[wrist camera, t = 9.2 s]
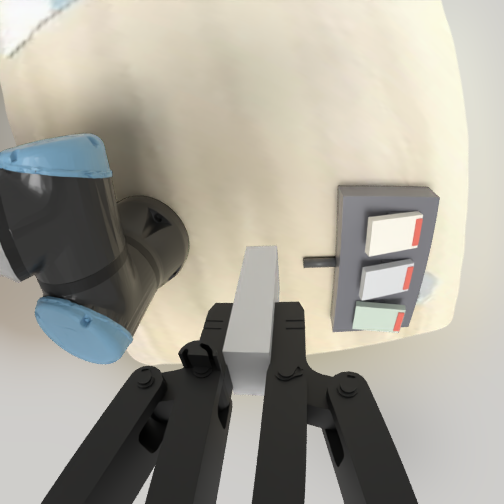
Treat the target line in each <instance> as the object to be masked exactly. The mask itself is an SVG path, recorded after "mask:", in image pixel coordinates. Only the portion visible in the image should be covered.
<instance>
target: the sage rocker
mask: <svg viewBox="0 0 504 504" xmlns="http://www.w3.org/2000/svg"><path fill="white" fill-rule="evenodd" d="M405 311H406V308H405V305H398V304H385V303H373V302H362V301H356V307H355V313H354V319H353V326H352V329H359V330H371V331H383V332H397V333H399V330H400V327H401V324H402V321H403V318H404V314H405Z"/></svg>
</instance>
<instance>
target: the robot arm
mask: <svg viewBox="0 0 504 504" xmlns="http://www.w3.org/2000/svg"><path fill="white" fill-rule="evenodd" d="M188 252H189V240H188V235H187V232H186V229H185V227H184V225H183V223H182V221H181V220H180V218H179V217H178V216H177V215H176V214H175V212H174V211H172V210H171V209H170V208H169V207H168V206H166V205H165V204H163V203H162V202H160V201H158V200H156V199H153V198H150V197H145V196H132V197H128V198H125V199H123V200H121V201H120V202H118V203H117V202H116V198H115V193H114V188H113V183H112V171H111V170H110V168H109V164H108V159H107V155H106V150H105V146H104V143H103V141H102V140H101V139H100V138H99V137H98V136H96V135H94V134H88V133H86V134H75V135H67V136H61V137H55V138H49V139H44V140H40V141H35V142H31V143H27V144H23V145H20V146H17V147H14V148H9V149H6V150H4V151H2V152H0V276H5V277H7V278H9V279H11V280H13V281H15V282H18V283H19V282H21V281H23V280H25V279H27V278H29V277H31V276H33V275H35V276H36V278H37V280H38V282H39V284H40V287H41V289H42V291H43V297H42V298H40V299H39V300H38V301H37V305H36V308H35V317H36V320H37V322H38V324H39V325H40V327H41V328H42V330H43V331H44V332H45V333H46V335H47V336H48V337H49V338H50V339H52V341H54V342H55V343H56V344H57V345H58V346H60V347H61V348H62V349H64V350H66V351H67V352H69V353H70V354H72V355H74V356H76V357H78V358H80V359H83V360H85V361H88V362H92V363H97V364H110V363H113V362H116V361H117V360H118V359H120V358H121V357H122V355H123V354H124V352H125V350H126V349H127V347H128V346H129V344H131V343H132V341H133V336H134V334H135V332H136V330H137V328H138V326H139V324H140V322H141V320H142V318H143V316H144V314H145V312H146V310H147V308H148V306H149V304H150V302H151V300H152V299H153V297H154V295H155V293H156V291H157V289H158V288H160V287H161V286H162V285H164V284H165V283H166V282H168V281H169V280H171V279H172V278H173V277H175V276H176V275H177V274H178V273H179V271H180V270H181V268H182V267H183V265H184V263H185V261H186V259H187V256H188ZM279 291H280V288H279V270H278V253H277V246H249V247H246V251H245V255H244V260H243V264H242V268H241V273H240V277H239V281H238V286H237V290H236V294H235V299H234V303H215V304H214V306H213V307H212V308H211V309H210V310H209V311H208V315H207V318H206V322H205V324H204V327H203V328H204V329H203V331H202V334H201V337H200V340H198V341H192V342H190V343H187V344H186V345H185V346H183V347H182V348H181V350H180V351H179V353H178V355H179V357H180V359H181V362H182V364H183V366H184V368H182V369H179V370H175V371H169V372H164V373H161V372H160V370H159V369H157V368H156V367H153V366H144V367H141V368H139V369H137V370H135V371H134V372H133V373H132V374H131V376H130V377H129V378H128V380H127V381H126V383H125V384H124V385H123V387H122V388H121V389H120V391H119V392H118V393H117V395H116V396H115V398H114V399H113V400H112V402H111V403H110V405H109V406H108V407H107V409H106V410H105V412H104V413H103V414H102V416H101V417H100V419H99V420H98V421H97V423H96V424H95V426H94V427H93V428H92V430H91V431H90V433H89V434H88V436H87V437H86V438H85V440H84V441H83V443H82V444H81V445H80V447H79V448H78V450H77V451H76V453H75V454H74V456H73V457H72V458H71V460H70V461H69V463H68V464H67V466H66V467H65V469H64V470H63V472H62V473H61V474H60V476H59V477H58V479H57V480H56V482H55V484H54V485H53V486H52V488H51V489H50V491H49V492H48V494H47V495H46V497H45V498H44V500H43V501H42V503H41V504H132V503H133V501H134V500H135V498H136V496H137V495H138V493H139V491H140V490H141V488H142V486H143V484H144V483H145V481H146V480H147V478H148V476H149V475H150V473H151V471H152V470H153V468H154V466H155V469H154V472H153V476H152V480H151V483H150V487H149V491H148V494H147V498H146V502H145V504H216V500H217V493H218V487H219V482H220V477H221V471H222V465H223V459H224V453H225V447H226V442H227V435H228V430H229V423H230V418H231V412H232V400H231V394H232V389H233V392H234V394H237V395H261V396H262V395H263V396H264V404H263V412H262V422H261V431H260V440H259V449H258V457H257V466H256V474H255V482H254V490H253V498H252V504H304V499H305V477H306V444H307V442H306V441H307V424H309V425H313V426H316V427H320V428H322V431H323V434H324V438H325V441H326V444H327V448H328V451H329V454H330V457H331V461H332V463H333V467H334V470H335V473H336V477H337V480H338V484H339V487H340V490H341V494H342V497H343V500H344V504H418V502H417V499H416V497H415V494H414V492H413V490H412V486H411V484H410V481H409V479H408V476H407V474H406V471H405V469H404V466H403V464H402V461H401V459H400V457H399V455H398V452H397V450H396V447H395V445H394V442H393V440H392V438H391V435H390V433H389V431H388V428H387V426H386V424H385V422H384V419H383V417H382V415H381V412H380V410H379V408H378V406H377V403H376V401H375V399H374V397H373V395H372V392H371V390H370V388H369V386H368V384H367V382H366V380H365V379H364V378H363V377H362V376H360V375H359V374H357V373H354V372H341V373H339V374H337V375H335V376H334V377H331V376H327V375H322V374H320V373H317V372H315V371H314V370H312V369H311V368H310V367H309V365H308V363H307V361H306V350H305V319H304V309H303V308H302V306H301V304H300V303H299V302H279Z"/></svg>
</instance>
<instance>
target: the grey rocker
mask: <svg viewBox="0 0 504 504" xmlns="http://www.w3.org/2000/svg"><path fill="white" fill-rule="evenodd" d="M413 268H414V262H413V261H412V260H411V259H406V260H400V261H395V262H389V263H384V264H378V265H373V266H367V267H363V269H362V276H361V283H360V290H359V297H360V299H361V300H362V301H363V300H368V299H373V298H377V297H382V296H386V295H391V294H395V293H400V292H404V291H408V289H409V285H410V281H411V277H412V272H413Z"/></svg>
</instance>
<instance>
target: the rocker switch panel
mask: <svg viewBox="0 0 504 504" xmlns="http://www.w3.org/2000/svg"><path fill="white" fill-rule="evenodd" d="M439 199H440V197H439V196H437V195H436V194H435V193H434V192H433V191H432V190H431V189H430V188H429V187H408V186H338V210H337V237H336V255H335V258H307V259H303V266H304V268H313V267H335V271H334V284H333V296H332V307H331V322H332V330H333V332H343V331H361V330H359V329H352V326H353V319H354V313H355V307H356V301H362V300H361V299H360V297H359V290H360V283H361V276H362V269H363V267H367V266H373V265H378V264H384V263H389V262H395V261H400V260H406V259H411V260H412V261H413V262H414V268H413V272H412V277H411V281H410V285H409V289H408V291H404V292H400V293H395V294H391V295H386V296H382V297H377V298H373V299H368V300H363V301H362V302H373V303H385V304H398V305H405V308H406V311H405V314H404V318H403V321H402V324H401V327H408V326H409V323H410V320H411V317H412V314H413V311H414V308H415V304H416V301H417V298H418V294H419V291H420V287H421V284H422V280H423V276H424V273H425V269H426V265H427V261H428V256H429V252H430V248H431V243H432V238H433V233H434V228H435V223H436V217H437V212H438V206H439ZM414 211H419V212H420V213H421V214H423V218H422V219H423V221H422V227H421V232H420V238H419V243H418V246H417V248H413V249H407V250H402V251H397V252H391V253H386V254H381V255H375V256H370V257H369V256H368V255H367V254H366V253H365V246H366V236H367V226H368V217H374V216H381V215H389V214H397V213H406V212H414Z"/></svg>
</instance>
